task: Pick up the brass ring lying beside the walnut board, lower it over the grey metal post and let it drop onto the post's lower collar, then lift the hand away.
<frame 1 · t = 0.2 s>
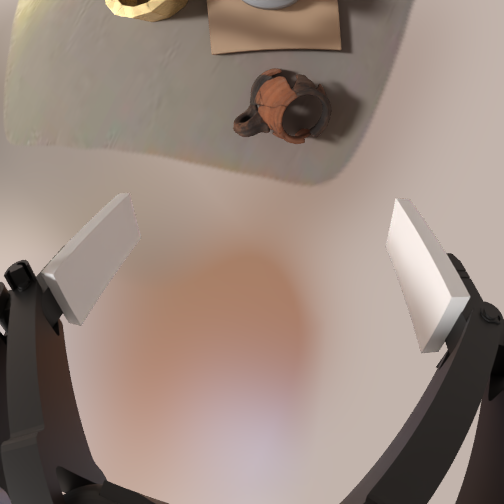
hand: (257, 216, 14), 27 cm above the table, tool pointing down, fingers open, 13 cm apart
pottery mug: (280, 105, 35), on the table
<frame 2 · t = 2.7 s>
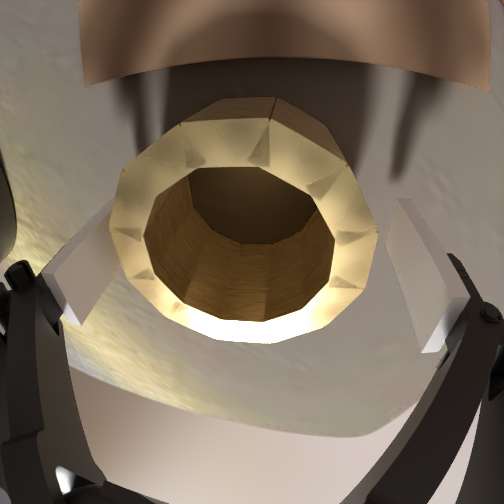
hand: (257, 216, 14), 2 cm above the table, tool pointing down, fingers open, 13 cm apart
brass ring: (253, 190, 16), on the table
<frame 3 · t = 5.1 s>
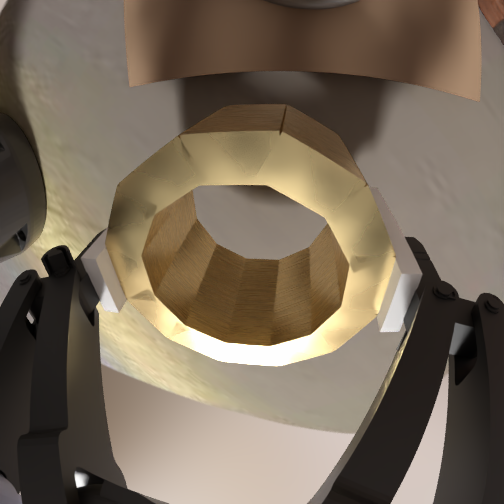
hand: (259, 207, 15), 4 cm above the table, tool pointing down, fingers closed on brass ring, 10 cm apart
brass ring: (260, 203, 15), point 4 cm above the table, touching gripper
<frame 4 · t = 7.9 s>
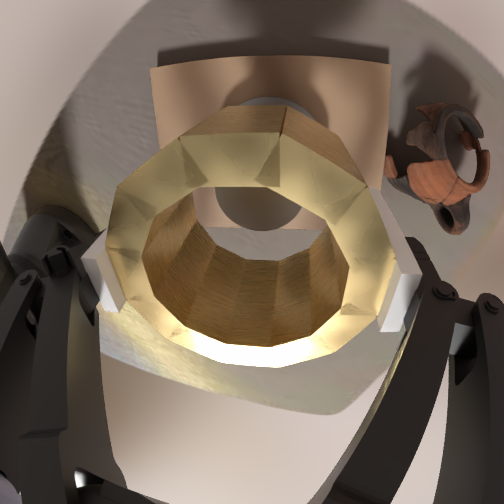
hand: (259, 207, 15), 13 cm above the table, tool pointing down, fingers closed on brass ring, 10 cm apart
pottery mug: (426, 158, 23), on the table, touching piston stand
brass ring: (260, 204, 15), point 13 cm above the table, touching gripper
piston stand: (271, 143, 25), on the table
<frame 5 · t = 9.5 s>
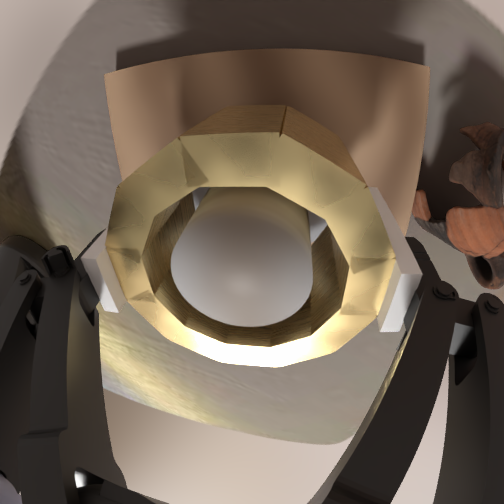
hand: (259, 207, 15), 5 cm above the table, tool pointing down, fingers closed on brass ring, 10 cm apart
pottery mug: (462, 190, 18), on the table
brass ring: (260, 204, 15), point 5 cm above the table, touching gripper
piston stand: (266, 169, 19), on the table
when the fingers open (4 cm above the table, at t = 10.8 s): brass ring stays where it is, resting on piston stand.
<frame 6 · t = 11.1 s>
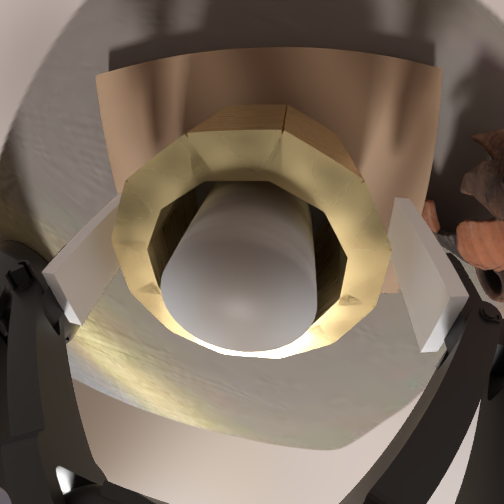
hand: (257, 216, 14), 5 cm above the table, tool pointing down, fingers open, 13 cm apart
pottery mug: (472, 198, 17), on the table, touching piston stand
brass ring: (261, 200, 15), point 3 cm above the table, touching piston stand
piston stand: (267, 176, 18), on the table
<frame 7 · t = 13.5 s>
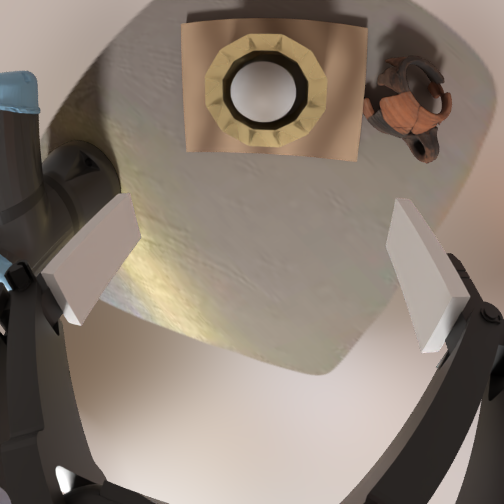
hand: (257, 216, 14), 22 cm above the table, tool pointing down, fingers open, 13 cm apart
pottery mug: (401, 105, 28), on the table
brass ring: (270, 86, 26), point 3 cm above the table, touching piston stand
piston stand: (272, 85, 29), on the table
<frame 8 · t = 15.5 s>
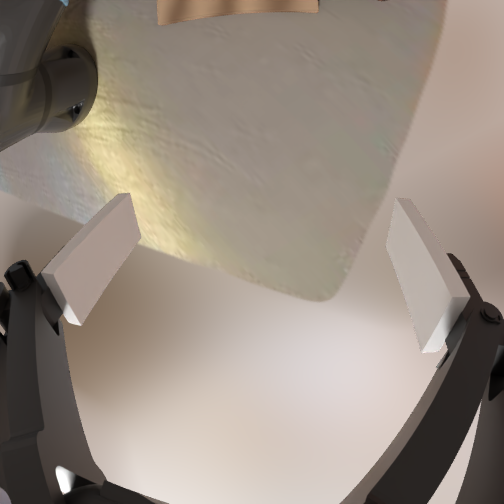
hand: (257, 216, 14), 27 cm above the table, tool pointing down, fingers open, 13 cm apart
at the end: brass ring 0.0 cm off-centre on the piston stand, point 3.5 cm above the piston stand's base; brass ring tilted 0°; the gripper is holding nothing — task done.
